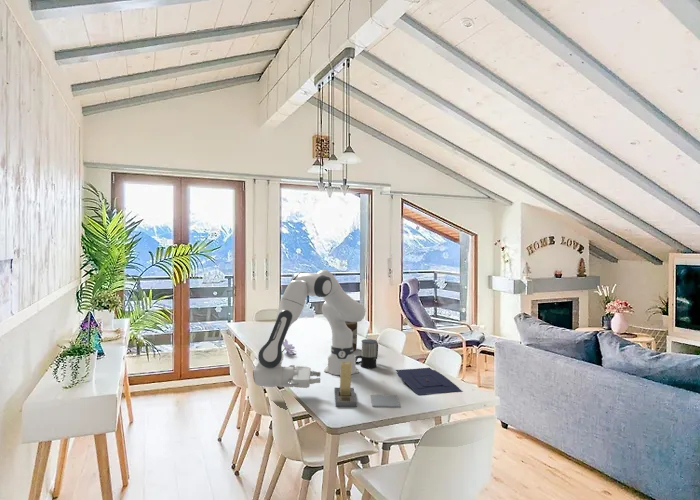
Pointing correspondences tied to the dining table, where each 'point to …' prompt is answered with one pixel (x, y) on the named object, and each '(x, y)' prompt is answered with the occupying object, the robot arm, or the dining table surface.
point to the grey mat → (385, 401)
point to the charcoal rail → (345, 399)
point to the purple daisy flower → (288, 347)
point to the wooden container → (354, 330)
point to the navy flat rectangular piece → (427, 381)
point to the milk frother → (368, 353)
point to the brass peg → (345, 378)
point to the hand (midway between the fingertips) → (320, 377)
